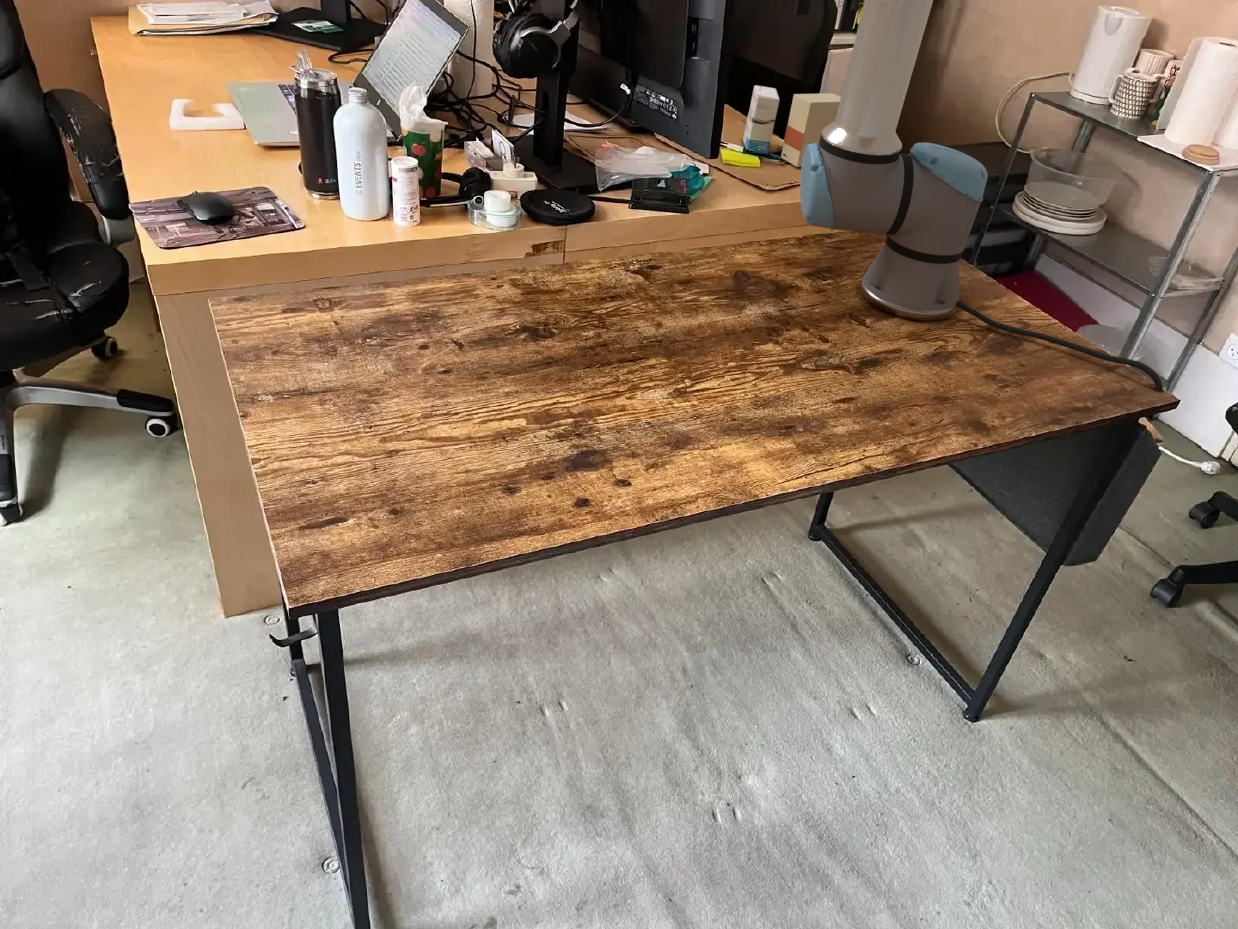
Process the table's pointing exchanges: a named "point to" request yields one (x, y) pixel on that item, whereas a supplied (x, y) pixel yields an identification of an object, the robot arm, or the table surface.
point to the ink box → (761, 119)
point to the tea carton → (807, 123)
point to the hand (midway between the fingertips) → (822, 22)
